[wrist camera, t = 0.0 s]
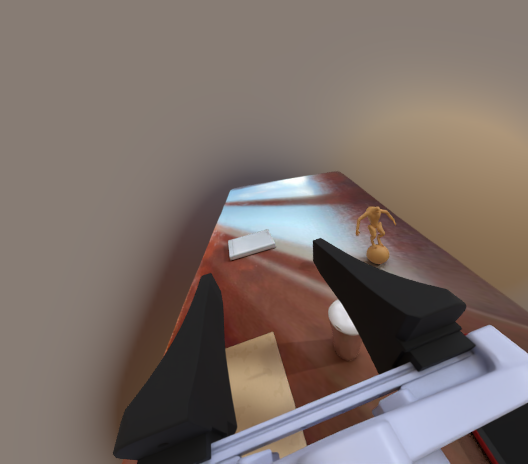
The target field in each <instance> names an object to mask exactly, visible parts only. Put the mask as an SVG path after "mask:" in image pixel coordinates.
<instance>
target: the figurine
mask: <svg viewBox="0 0 528 464" xmlns="http://www.w3.org/2000/svg"><path fill="white" fill-rule="evenodd" d="M381 213H386V214H387V215H388V217H389V218H390V219H391V220H392V221H393V222H394V224H395V226H396V223H395V220H394V219H393V217H392V216H391V215H390V214H389V212H388V211H386V210H381V209H380V208H379V207H369V208H367V210H366V212H365V213H364V214H363V215H362V216H361V217H360V218H358V220H357V227H356V236H358V235H359V233H360V232H359V231H358V230H359V224H360V220H362V219H364V218H365V217H368V219H369V221H370V224H371V225H368V229H369V232H370V234H371V237H370V239H371V243H372V246H370V247H369V248H368V250H367V258H368V259H369V260H370V261H371V262H373V263H375V264H382V263H384V262H386V261H387V260H388V258H389V251H388V249H387V248H386V247H384V246H383V244H382V243H381V241H380V237H382V236H384V235H385V232H384V231H383V228H382V224H381V222H379V223H378V220H379V218H380V214H381ZM375 228H377V231H378V232H380V234H378V235H377V240H378V244H374V241H373V239H375V238H376V229H375Z"/></svg>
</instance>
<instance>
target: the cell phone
mask: <svg viewBox="0 0 528 464" xmlns="http://www.w3.org/2000/svg"><path fill="white" fill-rule="evenodd" d="M464 335H465V336H466V335H467V334H464ZM472 433H473V434H474V436H475V438H476V439H477V441H478V442H479V444H480V445H481V447H482V448H483V450H484V452H485V453H486V455H487V456H488V458H489V459H490V461H491V462H492V464H528V403H526V404H524V405H522V406H520V407H518V408H516V409H514V410H513V411H511V412H509V413H507V414H505V415H503V416H501V417H499V418H497V419H495V420H493V421H491V422H490V423H488V424H486V425H484V426H482V427H480V428H478V429H476V430H474V431H472Z"/></svg>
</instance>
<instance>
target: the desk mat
mask: <svg viewBox="0 0 528 464" xmlns="http://www.w3.org/2000/svg"><path fill="white" fill-rule="evenodd" d="M225 351H226V359H227V366H228V373H229V380H230V386H231V393H232V399H233V404H234V410H235V416H236V421H237V430H236V432H235V434H236V433H238V432H241V431H243V430H246V429H248V428H251V427H253V426H255V425H258V424H260V423H263V422H265V421H268V420H270V419H273V418H275V417H277V416H280V415H282V414H285V413H287V412H290V411H292V410H294V409H296V407H295V404H294V400H293V397H292V394H291V390H290V387H289V384H288V380H287V377H286V373H285V370H284V367H283V363H282V360H281V356H280V353H279V350H278V346H277V343H276V340H275V336H274V333H273V332H271V333H268V334H265V335H263V336H260V337H257V338H254V339H252V340H249V341H246V342H243V343H241V344H238V345H235V346H232V347H230V348H227V349H225ZM306 446H307V444H306V441H305V438H304V434H303V431H299V432H297V433H295V434H292V435H290V436H288V437H285V438H283V439H281V440H278V441H276V442H273V443H271V444H269V445H266V446H264V447H262V448H259V449H257V450H255V451H252V452H250V453H248V454H245V455H243V456H241V457H243V458H244V457H246V456H249V455H252V454H255V453H258V452H261V451H264V450H267V449H270V450H271V451H272V452H278V453H279V457H280V459H281V458H283V457H285V456H287V455H289V454H292V453H294V452H296V451H298V450H300V449H302V448H304V447H306Z"/></svg>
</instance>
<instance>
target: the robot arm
mask: <svg viewBox="0 0 528 464" xmlns="http://www.w3.org/2000/svg"><path fill="white" fill-rule="evenodd" d="M313 261H314V263H315V265H316V267H317V269H318V271H319V272H320V274H321V275H322V277H323V278H324V280H325V281H326V283H327V284H328V285H329V287H330V288H331V289H332V291H333V292H334V294H335V295H336V296H337V298H338V299H339V301H340V302H341V304H342V305H343V307H344V309H345V310H346V312H347V314H348V316H349V317H350V319H351V321H352V323H353V324H354V326H355V328H356V330H357V332H358V334H359V335H360V337H361V339H362V341H363V343H364V345H365V347H366V349H367V351H368V353H369V355H370V357H371V359H372V361H373V363H374V365H375V367H376V369H377V371H378V373H379V375H377V376H375V377H372V378H370V379H368V380H365V381H363V382H360V383H358V384H355V385H353V386H350V387H348V388H346V389H343V390H341V391H338V392H336V393H333V394H331V395H329V396H326V397H324V398H321V399H319V400H316V401H314V402H311V403H309V404H307V405H304V406H302V407H299V408H297V409H294V410H292V411H290V412H287V413H285V414H282V415H280V416H277V417H275V418H273V419H270V420H268V421H265V422H263V423H260V424H258V425H255V426H253V427H251V428H248V429H246V430H243V431H241V432H238V433H236V434H235V432H236V430H237V421H236V416H235V410H234V404H233V399H232V393H231V386H230V380H229V373H228V366H227V359H226V351H225V341H224V313H223V301H222V295H221V291H220V289H219V287H218V285H217V283H216V281H215V279H214V278H213V276H212V274H211V273H209V274H206V275H203V276H202V277H201V279H200V282H199V285H198V288H197V290H196V293H195V296H194V298H193V301H192V303H191V306H190V308H189V311H188V313H187V315H186V317H185V319H184V322H183V324H182V326H181V328H180V330H179V331H178V333H177V335H176V337H175V339H174V341H173V342H172V344H171V346H170V347H169V349H168V351H167V352H166V354H165V356H164V357H163V359H162V360H161V362H160V363H159V365H158V366H157V368H156V369H155V371H154V372H153V374H152V375H151V376H150V378H149V379H148V381H147V382H146V384H145V385H144V386H143V387H142V389H141V390H140V391H139V393H138V394H137V395H136V397H135V398H134V399H133V401H132V402H131V403H130V404H129V406H128V407H127V408H126V409H125V412H124V415H123V418H122V421H121V424H120V428H119V433H118V436H117V440H116V444H115V447H114V451H113V455H114V456H115V457H116V458H120V459H130V460H138V462H137V464H450V462H449V461H448V459H447V458H446V456H445V455H444V453H443V452H442V450H441V449H440V448H442V447H443V446H445V445H447V444H449V443H451V442H453V441H455V440H457V439H459V438H461V437H463V436H465V435H467V434H468V433H470V432H472V431H474V430H476V429H478V428H480V427H482V426H484V425H486V424H488V423H490V422H491V421H493V420H495V419H497V418H499V417H501V416H503V415H505V414H507V413H509V412H511V411H513V410H514V409H516V408H518V407H520V406H522V405H524V404H526V403H528V353H526V352H525V351H524V350H522V349H521V348H520V347H519V346H517V345H516V344H515V343H513V342H512V341H511V340H510V339H508V338H507V337H506V336H504V335H503V334H502V333H500V332H499V331H498V330H497V329H495V328H494V327H493V326H491V325H488V326H485V327H483V328H480V329H478V330H475V331H473V332H471V333H469V334H467V335H466V336H465V335H464V334H463V333H462V332H461V331H460V330H461V329H462V328H461V326H459V325H458V324H457V323H456V322H455V321H456V320H457V319H458V318H459V317H460V316H461V314H462V313H463V312H464V311H465V309H466V304H465V303H464V302H463V301H462V300H460V299H459V298H458V297H456V296H455V295H454V294H453V293H451V292H450V291H448V290H447V289H444V288H439V287H435V286H431V285H427V284H423V283H419V282H416V281H412V280H409V279H406V278H402V277H399V276H396V275H394V274H391V273H388V272H385V271H383V270H380V269H378V268H375V267H373V266H371V265H368V264H366V263H364V262H362V261H360V260H358V259H356V258H354V257H352V256H350V255H349V254H347V253H345V252H343V251H342V250H340V249H338V248H337V247H335V246H333V245H332V244H330V243H328V242H327V241H325V240H323V239H322V238H319V239H316V240H313ZM396 390H398V391H397V392H395V393H394V394H392V395H390V396H388V397H386V398H384V399H383V400H381V401H379V405H378V406H377V407H376V408H375V409H374V410H372V413H373V415H374V418H371V419H369V420H366V421H364V422H361V423H359V424H356V425H354V426H351V427H349V428H347V429H344V430H342V431H340V432H337V433H335V434H333V435H330V436H328V437H326V438H324V439H322V440H319V441H317V442H315V443H313V444H311V445H308V446H306V447H304V448H302V449H300V450H298V451H296V452H294V453H292V454H289V455H287V456H285V457H283V458H281V459H280V457H279V453H278V452H272V451H271V450H270V449H267V450H264V451H261V452H258V453H255V454H252V455H249V456H246V457H244V458H243V457H241V456H243V455H245V454H248V453H250V452H252V451H255V450H257V449H259V448H262V447H264V446H266V445H269V444H271V443H273V442H276V441H278V440H281V439H283V438H285V437H288V436H290V435H292V434H295V433H297V432H299V431H302V430H304V429H306V428H309V427H311V426H314V425H316V424H318V423H321V422H323V421H325V420H328V419H330V418H332V417H335V416H337V415H339V414H342V413H344V412H347V411H349V410H351V409H354V408H356V407H358V406H361V405H363V404H365V403H368V402H370V401H372V400H375V399H377V398H380V397H382V396H384V395H387V394H389V393H391V392H394V391H396Z"/></svg>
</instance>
